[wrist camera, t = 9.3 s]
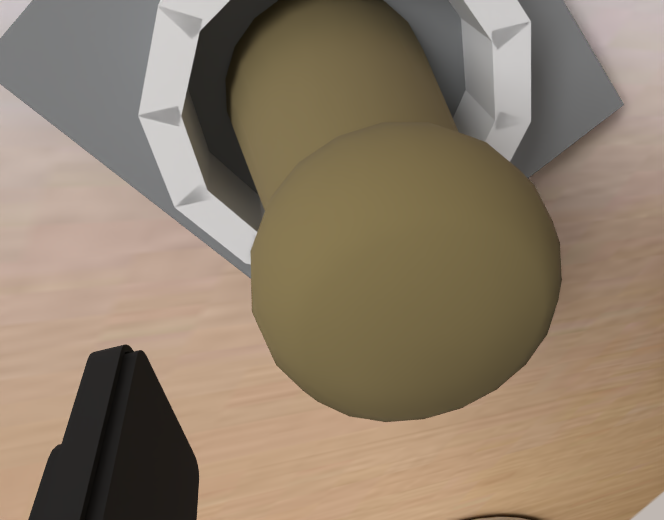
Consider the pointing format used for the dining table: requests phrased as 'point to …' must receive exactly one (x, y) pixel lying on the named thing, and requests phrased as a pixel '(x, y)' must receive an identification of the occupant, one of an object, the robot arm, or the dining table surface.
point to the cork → (382, 219)
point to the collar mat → (210, 91)
